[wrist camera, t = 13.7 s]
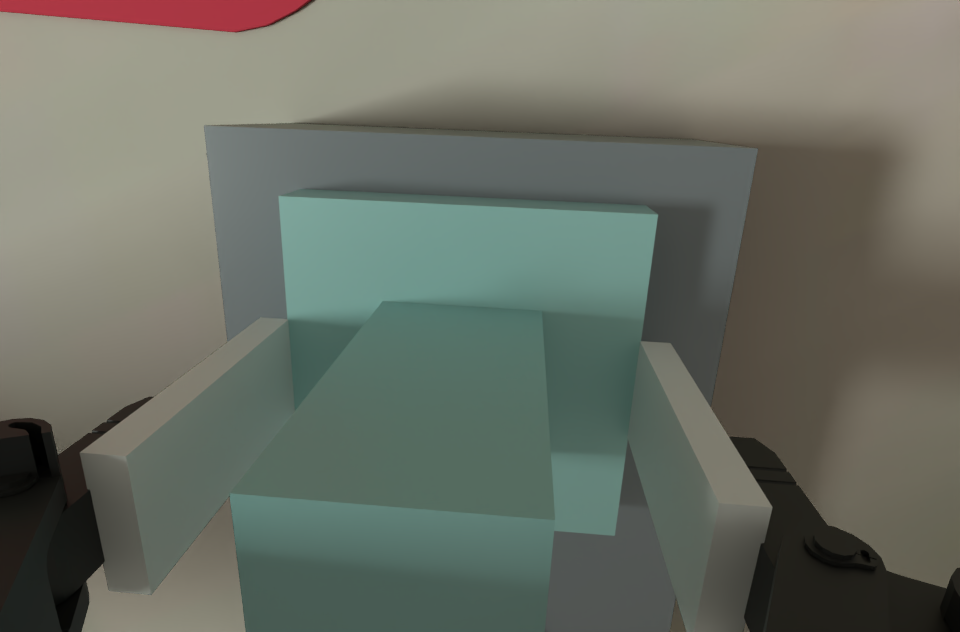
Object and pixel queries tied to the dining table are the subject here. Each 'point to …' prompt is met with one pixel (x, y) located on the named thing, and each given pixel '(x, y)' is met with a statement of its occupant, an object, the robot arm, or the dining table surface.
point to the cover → (441, 408)
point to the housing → (529, 176)
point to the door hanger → (166, 11)
